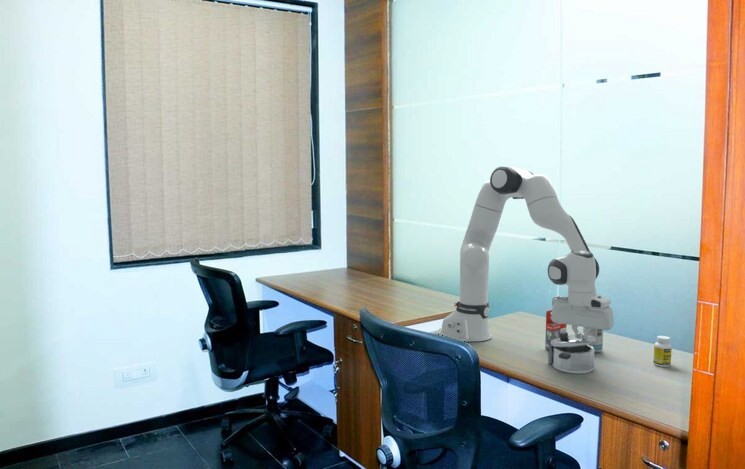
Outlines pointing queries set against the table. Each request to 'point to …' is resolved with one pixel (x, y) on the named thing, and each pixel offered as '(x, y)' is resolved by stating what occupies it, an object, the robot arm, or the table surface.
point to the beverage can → (599, 339)
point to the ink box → (552, 329)
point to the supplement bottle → (662, 351)
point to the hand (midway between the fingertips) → (581, 338)
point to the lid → (571, 341)
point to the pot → (572, 359)
